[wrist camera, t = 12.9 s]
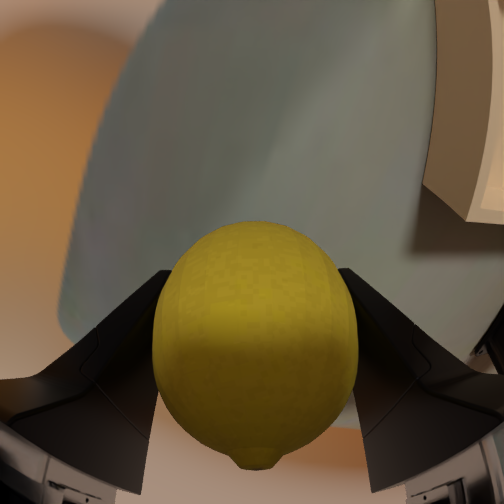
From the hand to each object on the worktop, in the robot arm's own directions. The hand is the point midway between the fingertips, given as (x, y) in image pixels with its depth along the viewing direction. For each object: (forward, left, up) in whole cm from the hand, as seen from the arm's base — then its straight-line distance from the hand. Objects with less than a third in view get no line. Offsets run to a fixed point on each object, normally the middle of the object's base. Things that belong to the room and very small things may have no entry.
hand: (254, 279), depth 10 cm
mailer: (+9, -11, -2) cm, 14 cm away
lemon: (0, 0, -2) cm, 2 cm away
